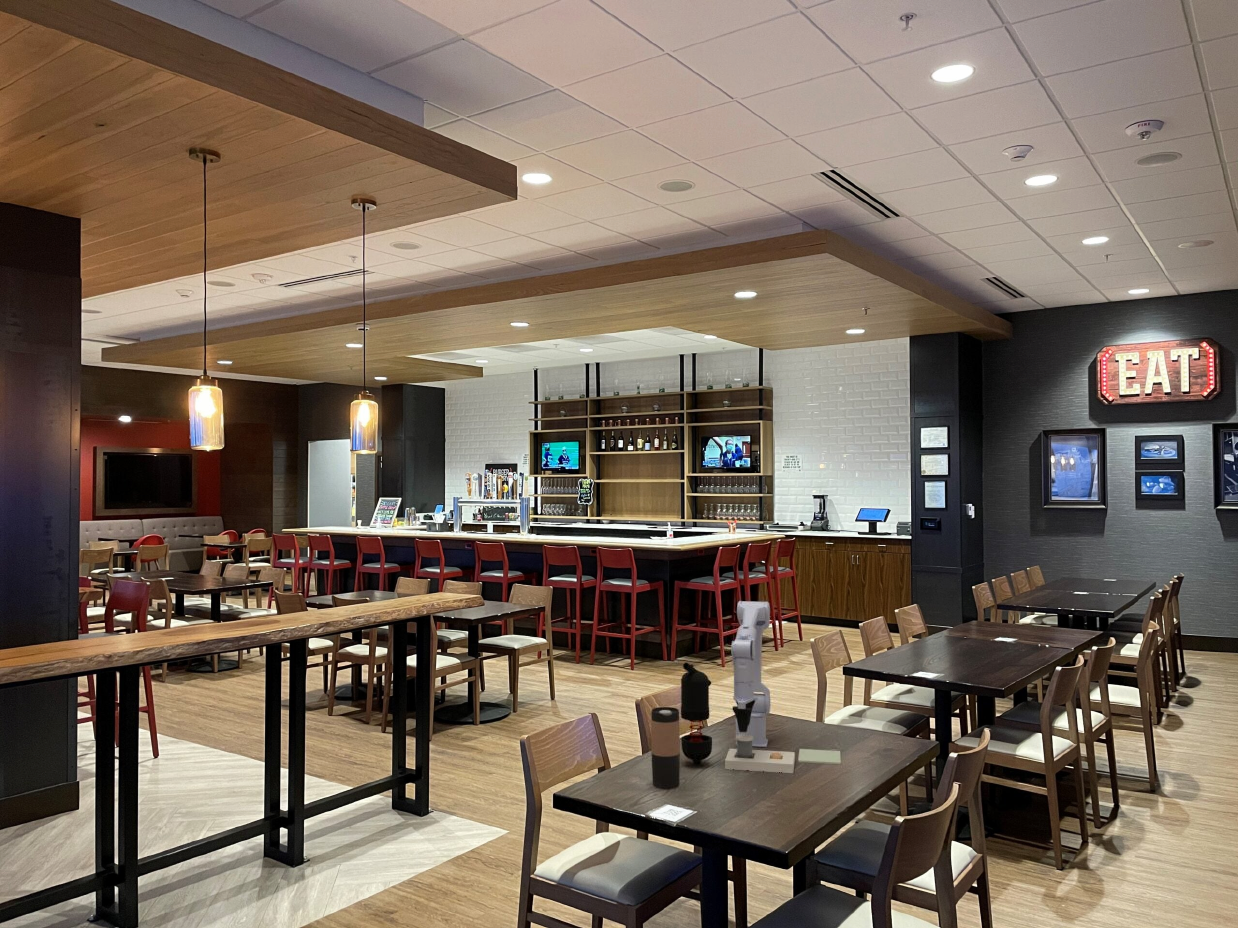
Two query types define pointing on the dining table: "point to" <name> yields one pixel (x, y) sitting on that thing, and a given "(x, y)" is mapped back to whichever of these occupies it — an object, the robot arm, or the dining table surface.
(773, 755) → the plunger
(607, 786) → the dining table surface
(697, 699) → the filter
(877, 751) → the dining table surface
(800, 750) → the mat
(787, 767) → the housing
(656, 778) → the travel mug
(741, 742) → the cylinder
